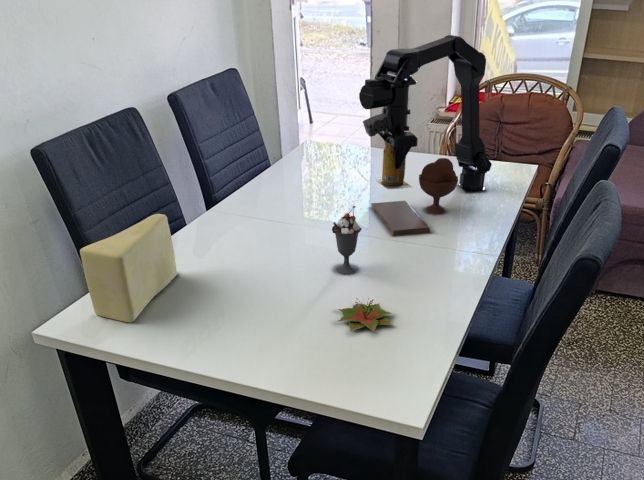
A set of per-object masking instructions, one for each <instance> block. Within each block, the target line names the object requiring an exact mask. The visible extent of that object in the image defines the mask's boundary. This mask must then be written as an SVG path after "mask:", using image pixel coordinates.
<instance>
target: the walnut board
mask: <svg viewBox="0 0 644 480" xmlns="http://www.w3.org/2000/svg"><path fill="white" fill-rule="evenodd" d="M371 209H372V211H373V212H374V213H375V215H376V216H377V217H378V218H379V220H380V221H381V222H382V224H383V225H384V226H385V228H386V229H387V230H388V231H389V233H390V234H391V235H392V237H397V236H407V235H409V236H410V235H418V234H419V235H421V234H429V233H430V229H431V227H430V226H429V225H428V223H426V221H425V220H424V219H423V218H422V217H421V216H420V215H419V214H418V212H416V210H414V208H413V207H412V206H411V205H410V204H409V203H408V202H407V201H406V200H396V201H395V200H393V201H382V202H372V203H371Z"/></svg>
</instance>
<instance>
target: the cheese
mask: <svg viewBox="0 0 644 480" xmlns="http://www.w3.org/2000/svg"><path fill="white" fill-rule="evenodd" d="M79 254H80V259H81V263H82V269H83V273H84V278H85V281H86V286H87V288H88V293H89V296H90V300H91V304H92V308H93V311H94V314H95V315H97V316H99V317H103V318H107V319H111V320H116V321H120V322H124V323H133V322H134V321H135V320H137V318H138V317H139V316H140V314H141V313H142V311H143V310H144V309H145V308H146V307H147V305H148V304H149V303H150V302H151V301H152V299H153V298H155V296H156V295H158V294H159V293H160V292H161V291H162V290H163V289H165V288H166V287H167V286H168V285H169V284H170V283H171V282H172V281H173V280H174V279H175V278H176V276H177V273H178V270H177V262H176V261H177V260H176V254H175V248H174V242H173V238H172V234H171V229H170V225H169V221H168V216H167V215H166V214H162V213H155V214H152V215H150V216H148V217H145V218H144V219H143V220H141V221H140V222H137V223H136V224H133V225H131V226H130V227H128V228H126V229H123V230H122V231H119V232H118V233H115V234H114V235H111V236H109V237H107V238H104V239H101V240H98V241H96V242H93V243H91V244H88V245H85V246H84V247H82V248H80V249H79Z"/></svg>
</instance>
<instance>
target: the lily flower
mask: <svg viewBox="0 0 644 480" xmlns="http://www.w3.org/2000/svg"><path fill="white" fill-rule="evenodd" d="M361 297H364V296H363V295H362V296H361ZM355 299H356V300H357V301H354V303H355V304H354V305H353V306H352V307H346V308H344V307H343V308H337V310H338V311H339V312H340V313H341V314H343V315H342V316H341V317H340V319H339V320H338V322H348V327H349V332H353V331H355V330H358V329H362V328H368V329H369V330H371V331H372V332H373V333H375V331H376V329H377V326H384V325H385V326H389V325H390V326H393V325H394V324H393V323H392V322H391V321H390V319H389V318H387V317H385V316H388V315H392V314H393V313H392V312H390V311H388V310H387V311H386V310H385V309H383V308H381V305H380V303H374V302H373V301H374V299H371V300H370V298H367V303H366V304H365V303H363V302H361V300H359V299H358V298H357V297H355ZM369 300H370V301H369ZM363 301H365V298H363ZM368 302H369V303H368ZM373 303H374V304H373Z"/></svg>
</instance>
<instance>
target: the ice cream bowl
mask: <svg viewBox="0 0 644 480" xmlns="http://www.w3.org/2000/svg"><path fill="white" fill-rule="evenodd" d="M418 182H419V186H420V189H421V190H422V191H423V193H425V194H427V195H428V196H430V197H432V199H433V201H432V204H430V205H429V206H426V208H425V212H427V213H429V214H431V215H443V214H445V213H446V209H445V207H443V206H442V205H440V201H441V200H440V199H441V198H444V197H447V196H448V195H450V194H451V193H452V192H454V191H455V189H456V188H457V186H458V184H459V177H458V175H457V174H456V171H455V170H454V164H453V162H452V161H451V160H450V159H449V158H446V157H439V158H437V159H436V160H434V161H432V162H429V163H427V164H426V165H424V167H423V168H422V170H421V173H420V174H418Z"/></svg>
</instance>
